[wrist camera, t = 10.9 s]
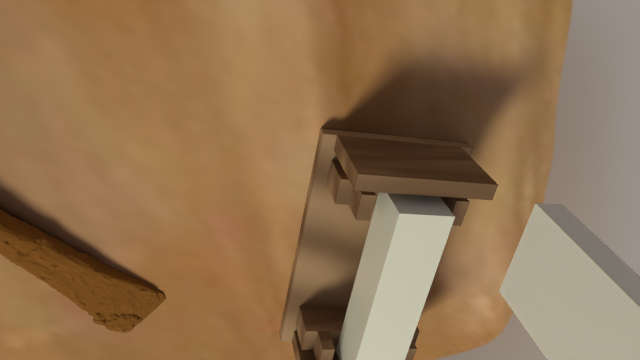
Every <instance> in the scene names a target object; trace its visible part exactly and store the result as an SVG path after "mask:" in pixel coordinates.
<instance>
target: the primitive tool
mask: <svg viewBox="0 0 640 360" xmlns="http://www.w3.org/2000/svg"><path fill="white" fill-rule="evenodd" d="M0 254H1V255H3V256H4V257H5V258H6V259H8V260H10V262H13V263H15V264H16V265H18V266H20V267H22V268H24V269H25V270H27V271H28V272H29V273H31V274H33V275H34V276H36V277H37V278H38V279H40V280H43V281H44V282H46V283H47V284H49V285H50V286H51V287H53V288H55V289H56V290H57V291H59V292H60V293H62V294H63V295H64V296H66V297H68V298H69V299H70V300H72V301H73V302H74V303H76V304H77V305H78V307H80V308H81V309H83V310H85V311H87V312H88V314H89V315H92V316H93V317H94V319H93V322H95V323H96V324H99V325H104V326H105V327H106V328H107V329H110V330H112V331H119V332H122V333H125V332H129V331H131V330H132V329H133V328H134V327H135V325H137V324H139V323H140V322H141V321H142V320H144V319H145V318H146V317H147V316H148V315H149V314H150V313H151V312H153V311H154V310H155V309H156V308H157V307H158V306H159V305H160V304H161V303H162V302H163V301H164V300H165V299H166V297H165V294H164V293H162V292H160V291H159V290H157V289H155V288H153V287H152V286H150V285H148V284H146V283H145V282H142V281H140V280H138V279H136V278H134V277H132V276H130V275H128V274H125V273H123V272H120V271H119V270H116V269H114V268H112V267H110V266H108V265H106V264H104V263H102V262H100V261H98V260H97V259H95V258H93V257H91V256H90V255H88V254H86V253H82V252H81V251H78V250H76V249H74V248H73V247H71V246H70V245H68V244H66V243H64V242H62V241H60V240H58V239H56V238H55V237H53V236H51V235H49V234H47V233H45V232H43V231H41V230H39V229H38V228H37V227H34V226H32V225H30V224H28V223H25V222H23V221H21V220H19V219H17V218H15V217H13V216H11V215H9V214H8V213H6V212H4V211H3V210H2V209H0Z"/></svg>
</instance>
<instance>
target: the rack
mask: <svg viewBox="0 0 640 360" xmlns="http://www.w3.org/2000/svg"><path fill="white" fill-rule="evenodd" d="M471 151H472V147H471V146H470V145H469V144H468V143H465V142H455V141H445V140H434V139H424V138H414V137H404V136H394V135H383V134H373V133H363V132H353V131H343V130H332V129H322V128H321V130H320V135H319V140H318V145H317V150H316V155H315V160H314V165H313V170H312V174H311V179H310V184H309V189H308V194H307V199H306V204H305V209H304V214H303V219H302V224H301V229H300V234H299V239H298V243H297V248H296V253H295V258H294V263H293V268H292V273H291V278H290V283H289V288H288V293H287V298H286V303H285V308H284V312H283V317H282V322H281V327H280V332H279V334H280V339H281V341H292V344H293V349H294V353H295V358H296V360H339V358H338V355H337V351H336V349H337V345H338V341H339V338H340V334H341V330H342V327H343V323H344V319H345V315H346V312H347V308H348V304H349V301H350V297H351V293H352V290H353V286H354V282H355V278H356V275H357V271H358V267H359V264H360V260H361V256H362V253H363V249H364V245H365V241H366V238H367V234H368V230H369V227H370V223H371V219H372V216H373V212H374V208H375V204H376V201H377V197H378V193H379V192H380V193H395V194H409V195H424V196H439V197H440V198H441V199H442V200H443V201H444V203H445V204H446V205H447V207H448V208H449V209H450V211H451V212H452V213H453V215H454V216H455V219H454V221H453V224H452V225H458V226H461V224H462V221H463V218H464V215H465V213H466V210H467V207H468V204H469V201H468V200H467V198H468V199H483V200H492V199H493V197H494V194H495V191H496V189H497V186H498V184H497V183H496V182H495V181H494V180H493V179H492V178H491V177H490V176H489V175H488V174H487V173H486V172H485V171H484V170H483V169H482V168H481V167H480V166H479V165H478V164H477V163H476V162H475V161H474V160H473V159H472V158H471V157H470V154H471ZM418 333H419V329H418V327H416V330H415V333H414V336H413V339H412V341H411V344H410V347H409V350H408V353H407V356H406V359H405V360H413V358H414V355H415V352H416V349H417V348H416V346H415V342H416V339H417V336H418Z"/></svg>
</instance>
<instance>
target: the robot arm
mask: <svg viewBox="0 0 640 360" xmlns="http://www.w3.org/2000/svg"><path fill="white" fill-rule="evenodd" d="M499 292H500V293H501V295H502V296H503V298H504V299H505V300H506V302H507V303H508V305H509V306H510V307H511V309H512V310H513V312H514V313H515V314H516V316H517V317H518V319H519V320H520V322H521V323H522V324H523V326H524V327H525V329H526V330H527V331H528V333H529V334H530V336H531V337H532V339H533V340H534V341H535V343H536V344H537V346H538V347H539V348H540V350H541V351H542V353H543V354H544V355H545V357H546V358H547V360H640V276H639V275H638V274H636V273H635V272H634V271H633V270H632V269H631V268H630V267H629V266H628V265H627V264H626V263H625V262H624V261H623V260H622V259H620V258H619V257H618V256H617V255H616V254H615V253H614V252H613V251H612V250H611V249H610V248H609V247H608V246H606V245H605V244H604V243H603V242H602V241H601V240H600V239H599V238H598V237H597V236H596V235H595V234H594V233H593V232H591V231H590V230H589V229H588V228H587V227H586V226H585V225H584V224H583V223H582V222H581V221H580V220H579V219H578V218H576V217H575V216H574V215H573V214H572V213H571V212H570V211H569V210H568V209H567V208H566V207H565V206H564V205H560V204H540V203H536V204H535V206H534V208H533V211H532V213H531V216H530V218H529V220H528V223H527V225H526V228H525V230H524V233H523V235H522V237H521V240H520V242H519V245H518V247H517V249H516V252H515V254H514V257H513V259H512V262H511V264H510V266H509V269H508V271H507V274H506V276H505V279H504V281H503V283H502V286H501V288H500V291H499Z"/></svg>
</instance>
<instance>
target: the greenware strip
mask: <svg viewBox="0 0 640 360" xmlns="http://www.w3.org/2000/svg"><path fill="white" fill-rule="evenodd" d="M454 219H455V216H454V215H453V213H452V212H451V211H450V209H449V208H448V207H447V205H446V204H445V203H444V201H443V200H442V199H441V198H440V197H439V196H424V195H409V194H395V193H380V192H379V193H378V197H377V201H376V204H375V208H374V212H373V216H372V219H371V223H370V227H369V230H368V234H367V238H366V241H365V245H364V249H363V253H362V256H361V260H360V264H359V267H358V271H357V275H356V278H355V282H354V286H353V290H352V293H351V297H350V301H349V304H348V308H347V312H346V315H345V319H344V323H343V327H342V330H341V334H340V338H339V341H338V345H337V349H336V351H337V355H338V358H339V360H405V359H406V356H407V353H408V350H409V347H410V344H411V341H412V339H413V336H414V333H415V330H416V327H417V324H418V321H419V319H420V316H421V313H422V310H423V307H424V304H425V301H426V299H427V296H428V293H429V290H430V287H431V284H432V281H433V279H434V276H435V273H436V270H437V267H438V264H439V261H440V259H441V256H442V253H443V250H444V247H445V244H446V241H447V239H448V236H449V233H450V230H451V227H452V224H453V221H454Z"/></svg>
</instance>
